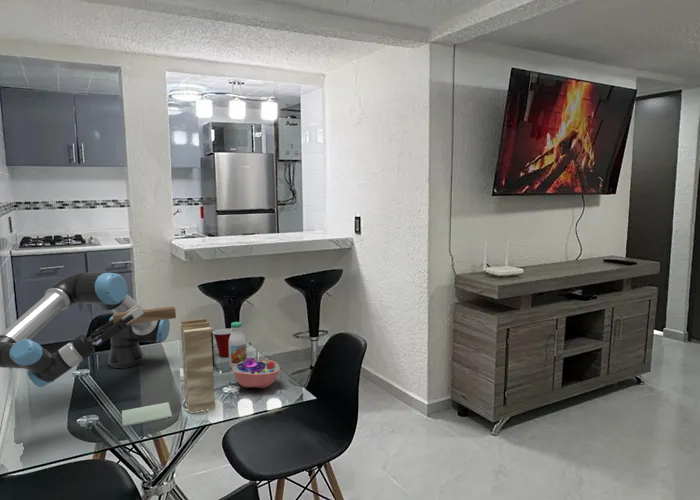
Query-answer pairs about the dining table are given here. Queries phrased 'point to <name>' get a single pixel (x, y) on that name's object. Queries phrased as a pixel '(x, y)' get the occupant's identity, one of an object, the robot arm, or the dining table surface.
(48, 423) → the dining table surface
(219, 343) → the plastic cup
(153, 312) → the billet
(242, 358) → the milk bottle
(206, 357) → the wooden block tower
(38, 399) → the dining table surface
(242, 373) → the cell model
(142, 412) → the mat
